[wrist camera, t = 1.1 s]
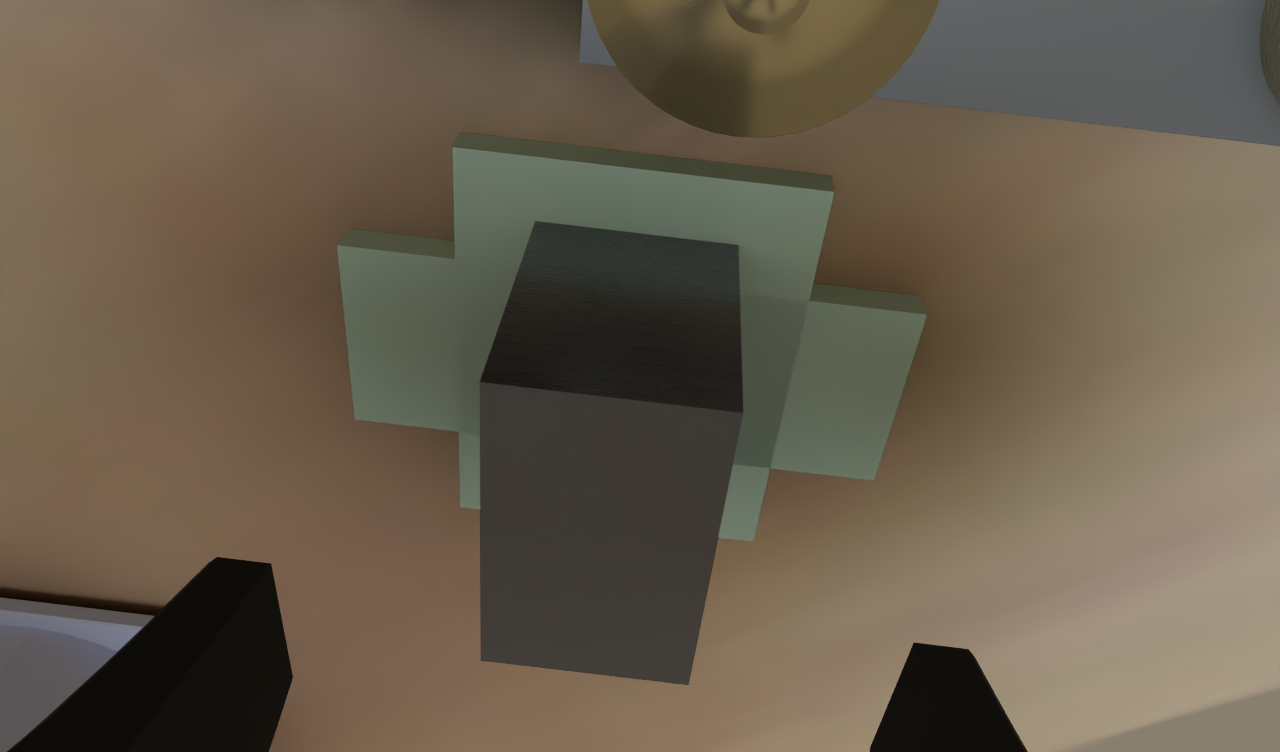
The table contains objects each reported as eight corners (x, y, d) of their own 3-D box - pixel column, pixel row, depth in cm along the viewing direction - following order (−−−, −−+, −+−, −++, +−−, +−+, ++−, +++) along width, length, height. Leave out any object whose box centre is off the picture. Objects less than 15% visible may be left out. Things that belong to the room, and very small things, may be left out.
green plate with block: (374, 466, 18) (281, 679, 14) (342, 111, 14) (200, 274, 10) (846, 522, 18) (879, 749, 14) (950, 182, 14) (1036, 373, 10)
